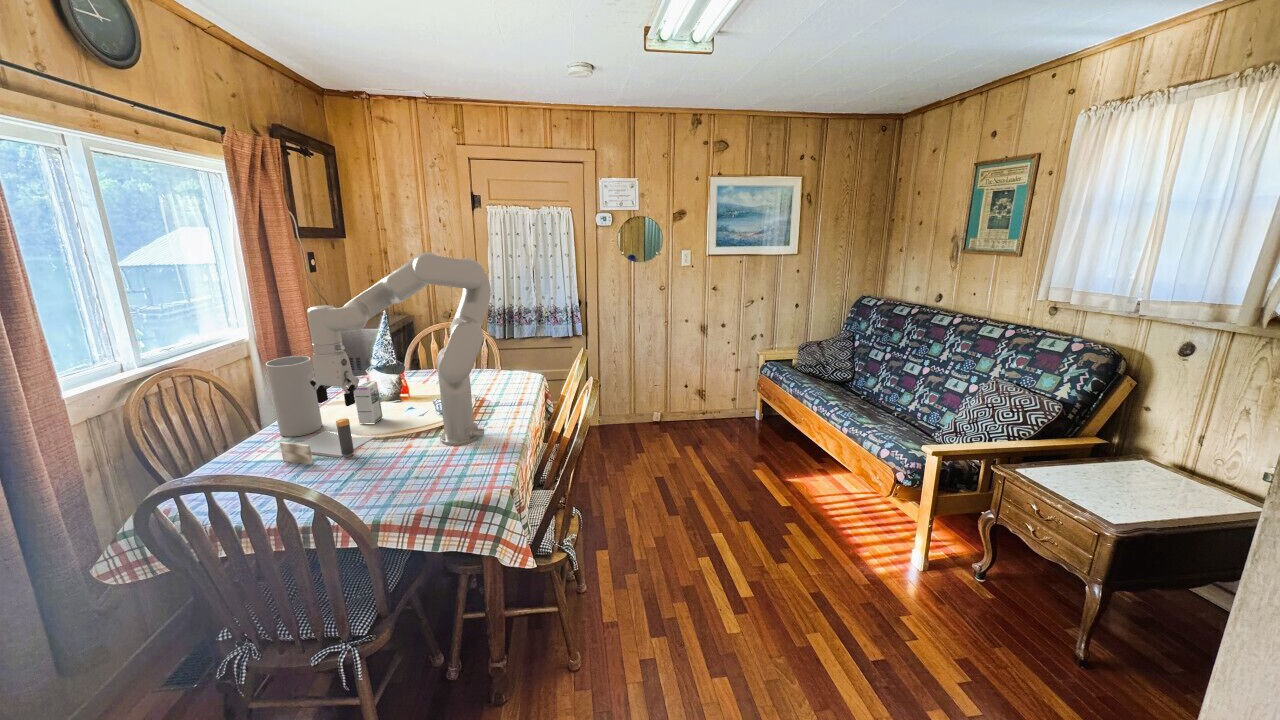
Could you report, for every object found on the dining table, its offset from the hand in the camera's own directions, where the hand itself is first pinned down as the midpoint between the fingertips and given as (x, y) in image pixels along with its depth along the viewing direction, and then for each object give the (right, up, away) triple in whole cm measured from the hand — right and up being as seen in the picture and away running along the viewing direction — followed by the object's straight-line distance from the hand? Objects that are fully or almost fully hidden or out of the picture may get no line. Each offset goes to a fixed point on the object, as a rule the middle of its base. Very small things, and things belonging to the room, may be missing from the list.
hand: (336, 403), depth 154 cm
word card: (-12, -18, +1) cm, 22 cm away
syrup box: (-6, -9, +31) cm, 33 cm away
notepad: (-9, -14, +13) cm, 21 cm away
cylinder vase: (-26, -12, +24) cm, 37 cm away
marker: (+1, -17, +5) cm, 17 cm away
